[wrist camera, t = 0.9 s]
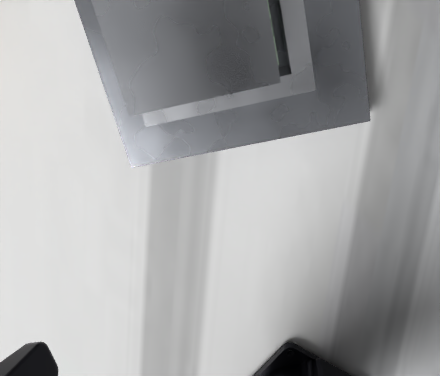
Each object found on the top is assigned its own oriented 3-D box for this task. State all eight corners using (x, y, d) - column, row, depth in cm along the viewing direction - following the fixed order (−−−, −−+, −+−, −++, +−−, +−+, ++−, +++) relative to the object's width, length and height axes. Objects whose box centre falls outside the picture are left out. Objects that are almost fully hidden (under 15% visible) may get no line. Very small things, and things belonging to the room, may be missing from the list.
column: (277, 58, 17) (285, 85, 11) (179, 81, 18) (126, 120, 11) (257, -59, 16) (250, -118, 9) (150, -28, 17) (67, -60, 10)
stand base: (365, 116, 19) (388, 139, 15) (137, 161, 21) (110, 191, 18) (335, -194, 15) (358, -263, 11) (51, -96, 17) (-7, -127, 13)
